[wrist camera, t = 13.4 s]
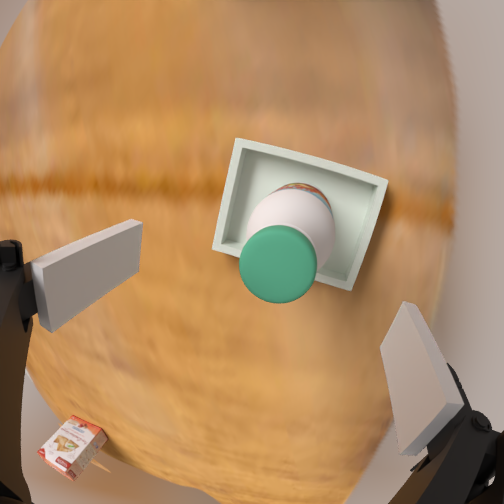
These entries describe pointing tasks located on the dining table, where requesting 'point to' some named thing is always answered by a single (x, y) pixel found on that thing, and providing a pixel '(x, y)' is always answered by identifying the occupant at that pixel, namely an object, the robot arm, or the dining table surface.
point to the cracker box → (73, 447)
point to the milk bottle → (287, 242)
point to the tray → (309, 171)
